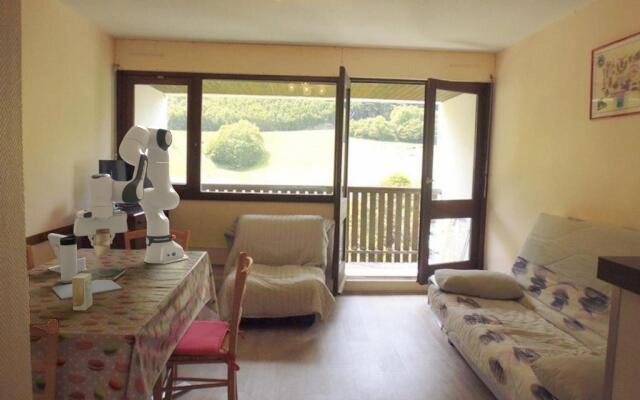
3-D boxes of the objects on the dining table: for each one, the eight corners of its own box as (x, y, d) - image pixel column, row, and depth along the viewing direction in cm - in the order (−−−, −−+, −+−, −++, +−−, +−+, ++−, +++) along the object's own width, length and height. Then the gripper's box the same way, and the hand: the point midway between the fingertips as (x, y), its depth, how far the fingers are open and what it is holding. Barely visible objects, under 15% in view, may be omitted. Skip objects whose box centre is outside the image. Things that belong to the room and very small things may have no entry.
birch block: (106, 252, 181) (106, 227, 180) (110, 254, 177) (109, 228, 176) (93, 253, 177) (93, 228, 176) (97, 255, 174) (96, 229, 173)
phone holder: (88, 270, 203) (87, 233, 201) (67, 274, 194) (66, 236, 192) (67, 265, 211) (66, 229, 209) (46, 269, 202) (45, 232, 200)
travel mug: (81, 280, 186) (80, 236, 184) (68, 284, 180) (67, 238, 178) (71, 278, 188) (69, 234, 187) (57, 282, 182) (56, 237, 180)
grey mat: (108, 279, 189) (108, 277, 189) (121, 289, 176) (121, 287, 176) (51, 288, 174) (51, 286, 174) (61, 299, 161) (61, 298, 161)
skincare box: (80, 304, 156) (80, 272, 155) (92, 304, 157) (92, 272, 155) (72, 310, 150) (71, 277, 149) (84, 310, 150) (83, 277, 149)
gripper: (124, 210, 185) (124, 240, 186) (72, 212, 171) (73, 245, 172) (129, 211, 180) (129, 242, 182) (76, 214, 167) (76, 248, 168)
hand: (101, 244), depth 177 cm, fingers closed on birch block, 5 cm apart
